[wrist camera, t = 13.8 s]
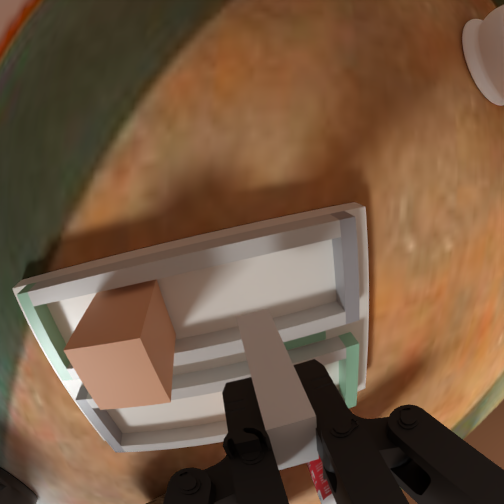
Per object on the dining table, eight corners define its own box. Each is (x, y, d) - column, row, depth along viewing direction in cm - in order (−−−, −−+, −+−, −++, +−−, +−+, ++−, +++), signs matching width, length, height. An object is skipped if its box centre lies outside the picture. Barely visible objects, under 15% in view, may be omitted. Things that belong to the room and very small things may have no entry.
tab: (119, 344, 19) (100, 409, 13) (96, 292, 17) (63, 350, 12) (176, 334, 19) (170, 402, 13) (156, 278, 17) (139, 338, 12)
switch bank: (106, 428, 23) (101, 452, 20) (21, 279, 18) (2, 298, 15) (358, 378, 25) (372, 399, 22) (354, 201, 20) (377, 211, 17)
